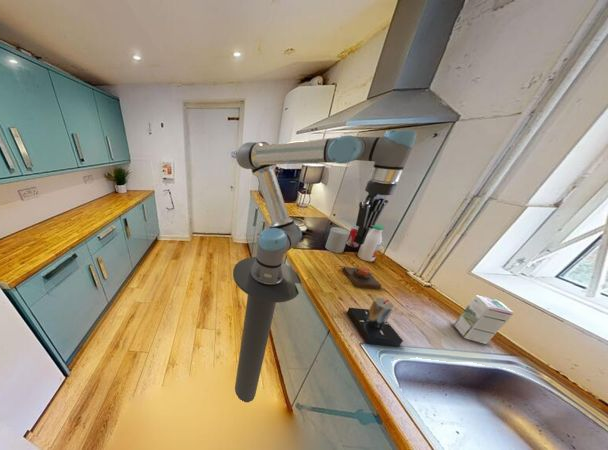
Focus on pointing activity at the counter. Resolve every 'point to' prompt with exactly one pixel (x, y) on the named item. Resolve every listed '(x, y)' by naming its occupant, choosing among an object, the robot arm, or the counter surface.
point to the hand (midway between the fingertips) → (358, 242)
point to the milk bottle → (371, 244)
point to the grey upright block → (379, 313)
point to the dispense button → (363, 271)
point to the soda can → (352, 237)
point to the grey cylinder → (337, 239)
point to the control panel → (373, 329)
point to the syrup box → (482, 319)
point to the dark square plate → (361, 278)
